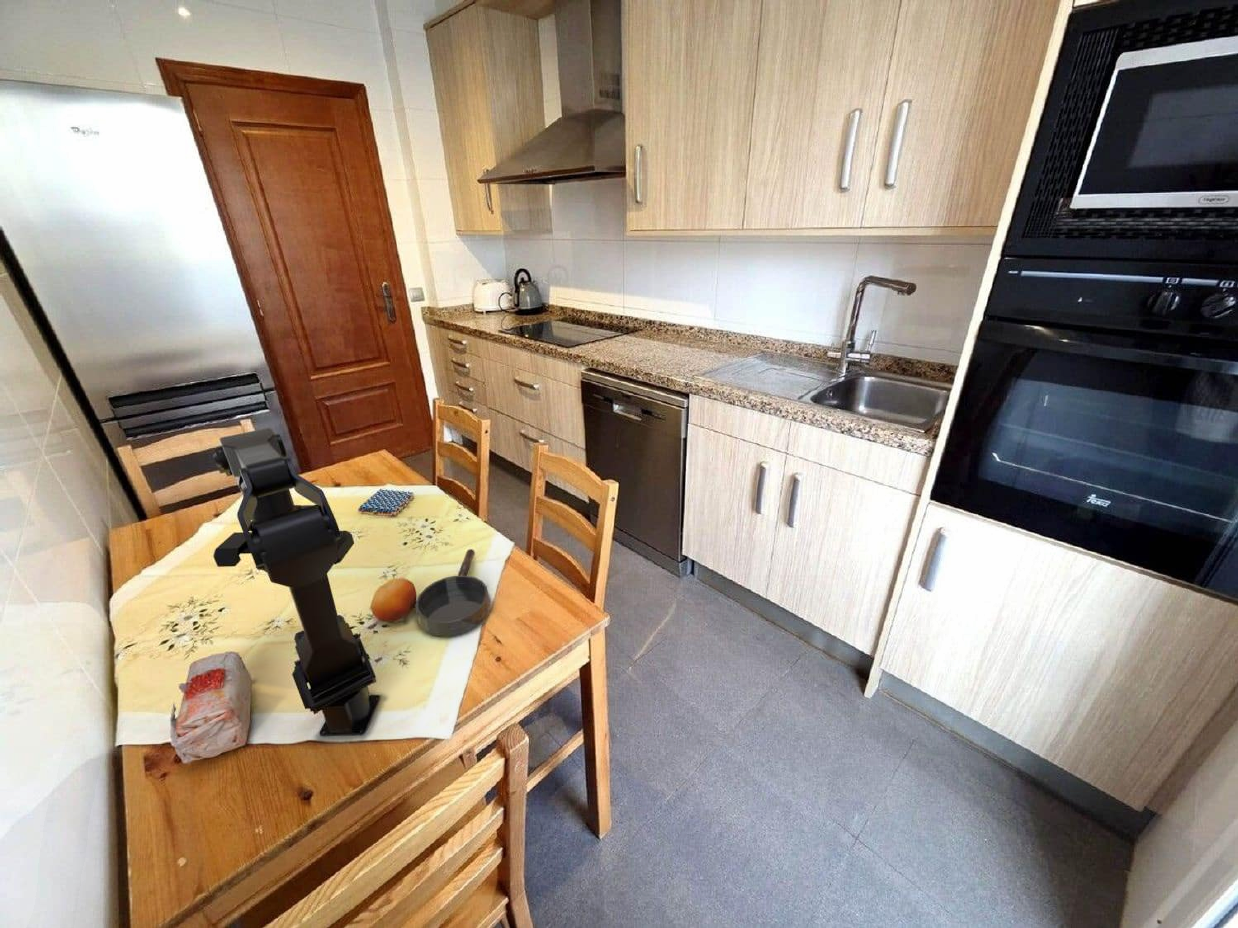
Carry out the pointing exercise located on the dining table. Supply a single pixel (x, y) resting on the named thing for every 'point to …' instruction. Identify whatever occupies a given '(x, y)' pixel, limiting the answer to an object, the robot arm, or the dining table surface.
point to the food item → (212, 708)
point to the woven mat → (386, 502)
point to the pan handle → (466, 563)
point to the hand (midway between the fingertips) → (300, 589)
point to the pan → (452, 606)
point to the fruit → (394, 600)
